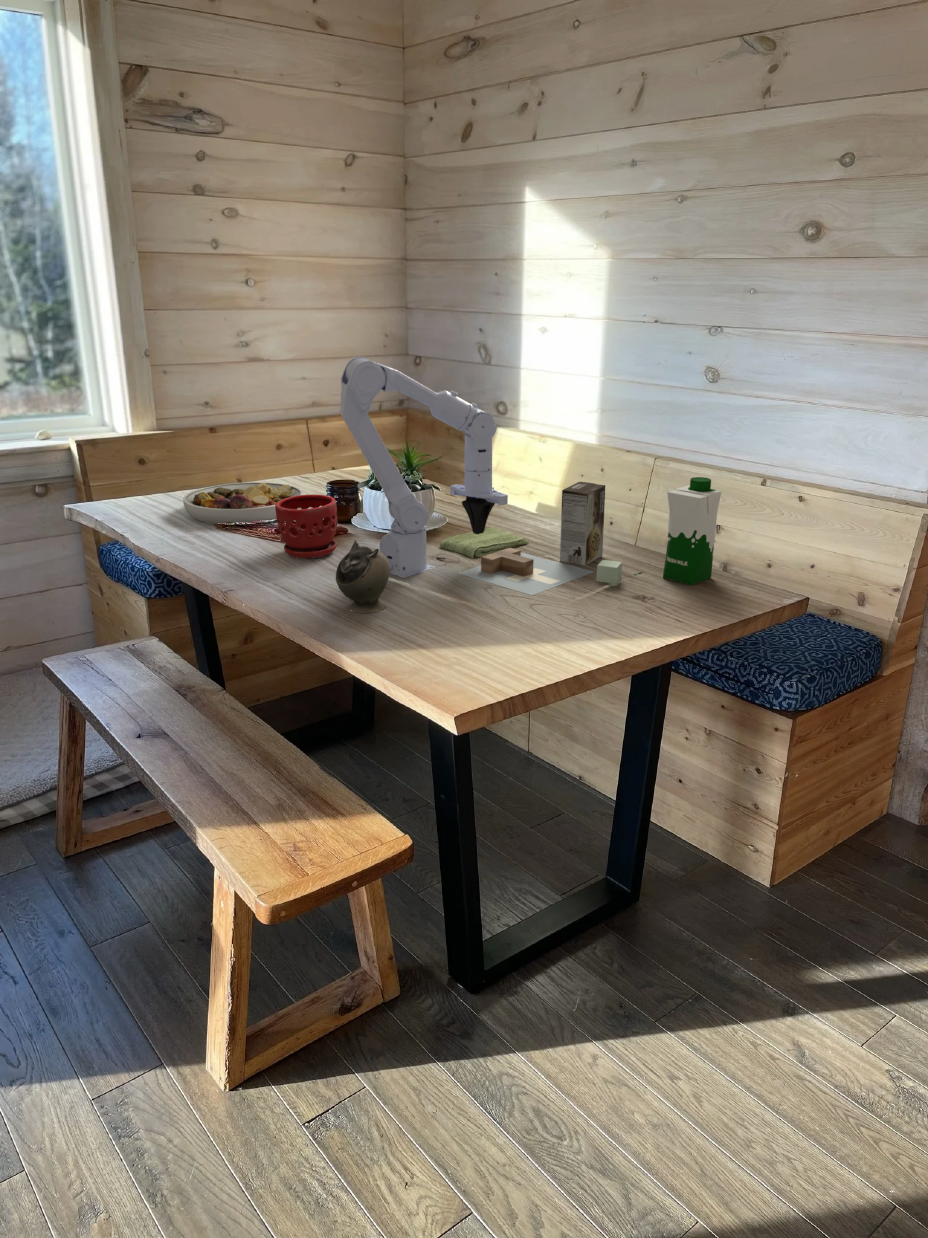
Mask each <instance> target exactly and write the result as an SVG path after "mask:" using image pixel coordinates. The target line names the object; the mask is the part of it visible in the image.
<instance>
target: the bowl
mask: <svg viewBox="0 0 928 1238" xmlns="http://www.w3.org/2000/svg"><path fill="white" fill-rule="evenodd" d="M299 495H304V491H303V490H302V488H301V489H300V488H299V487H296V486H294V485H290V484H286V483H285V484H284V483H280V482H279V483H278V482H266V481H265V482H264V481H263V482H260V481H255V482H253V481H252V482H232V483H225V484H224V483H223V484H217V485H211V486H207V487H206V486H205V487H203V488H198V489H195V490H193V491H190V492H188V493H186V495H184V497H183V499H182V501H183V503H182V504H183V507H184V509H185V511H186V513H187V514H188V515H189V516H190V517H192V518H193V519H195V520H197V521H199V522H201V523H205V524H209V523H211V525H215V524H218V523H227V522H253V521H260V520H261V521H262V520H272V519H277V518H276V510H275V504H276V503H277V502H278V501H280V500H282V499H285V498H289V497H293V496H299ZM297 509H301V508H297Z"/></svg>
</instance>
